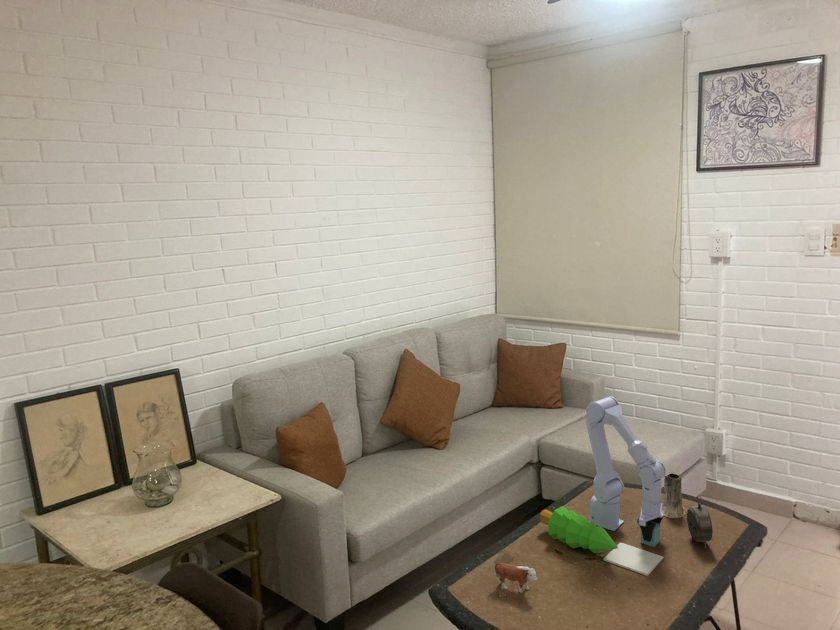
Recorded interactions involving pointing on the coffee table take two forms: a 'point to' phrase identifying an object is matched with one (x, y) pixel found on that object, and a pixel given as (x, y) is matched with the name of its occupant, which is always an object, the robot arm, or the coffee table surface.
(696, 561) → the coffee table surface
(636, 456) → the robot arm
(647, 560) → the off-white tile
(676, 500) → the tree stump
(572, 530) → the decorative tree
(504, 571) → the bull figurine
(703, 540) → the alarm clock
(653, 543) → the teal block
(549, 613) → the coffee table surface
